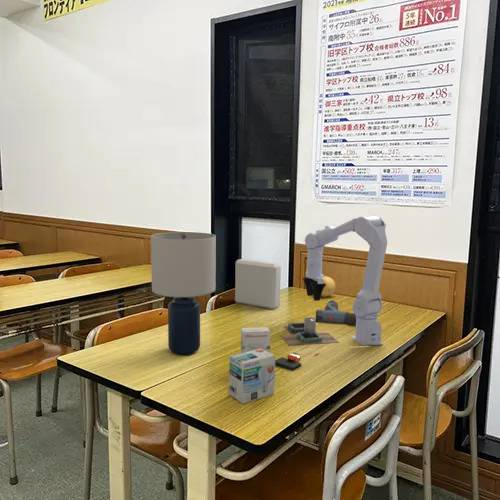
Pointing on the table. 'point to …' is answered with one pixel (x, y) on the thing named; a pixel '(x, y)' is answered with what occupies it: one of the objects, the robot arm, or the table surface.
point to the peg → (309, 327)
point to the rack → (308, 339)
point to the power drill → (335, 314)
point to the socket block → (294, 328)
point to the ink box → (255, 339)
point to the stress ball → (328, 286)
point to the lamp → (183, 282)
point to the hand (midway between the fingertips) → (313, 297)
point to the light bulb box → (251, 375)
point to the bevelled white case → (257, 283)
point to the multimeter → (289, 362)
